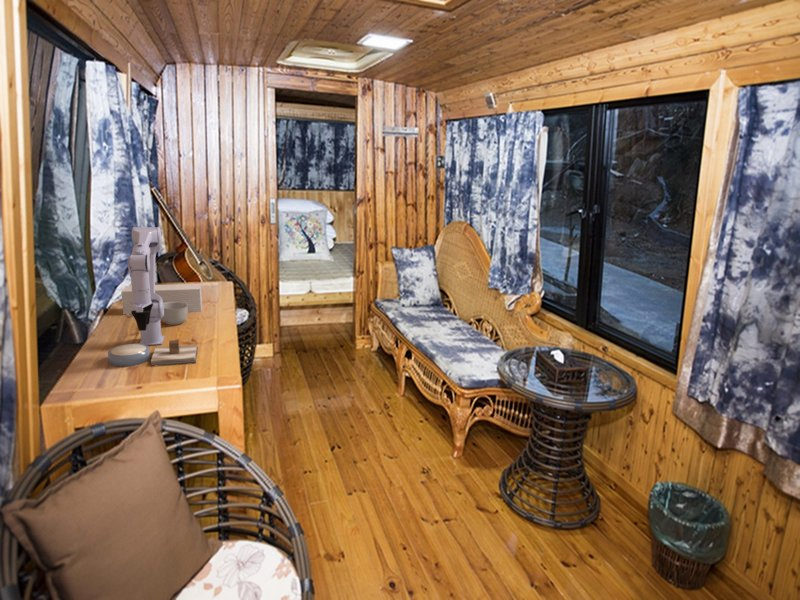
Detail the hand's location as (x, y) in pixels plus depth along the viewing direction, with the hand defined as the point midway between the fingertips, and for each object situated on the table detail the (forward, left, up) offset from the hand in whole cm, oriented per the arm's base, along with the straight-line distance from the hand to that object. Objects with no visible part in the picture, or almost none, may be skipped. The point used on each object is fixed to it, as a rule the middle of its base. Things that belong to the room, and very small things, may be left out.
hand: (144, 327), depth 199 cm
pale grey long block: (-60, 0, -11) cm, 61 cm away
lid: (+3, +10, -10) cm, 14 cm away
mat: (+3, +10, -10) cm, 15 cm away
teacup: (-38, +5, -11) cm, 39 cm away
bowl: (+3, -5, -10) cm, 12 cm away
